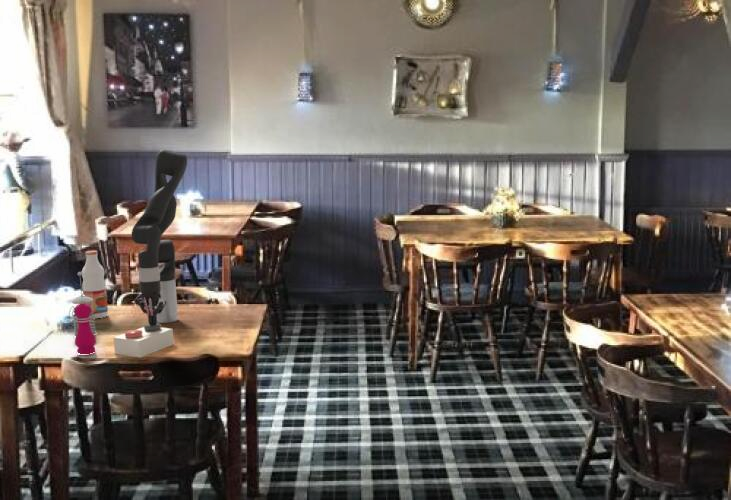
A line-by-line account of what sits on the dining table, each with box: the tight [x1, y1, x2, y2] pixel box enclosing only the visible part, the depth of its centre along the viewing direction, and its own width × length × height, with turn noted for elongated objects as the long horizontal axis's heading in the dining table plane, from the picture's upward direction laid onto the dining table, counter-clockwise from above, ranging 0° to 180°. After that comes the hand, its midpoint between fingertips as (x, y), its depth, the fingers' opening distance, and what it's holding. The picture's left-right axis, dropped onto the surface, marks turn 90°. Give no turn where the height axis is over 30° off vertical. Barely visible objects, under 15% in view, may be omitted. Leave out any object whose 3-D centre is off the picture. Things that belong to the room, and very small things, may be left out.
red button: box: [124, 329, 142, 338], centre depth 340 cm, size 6×6×5 cm
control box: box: [113, 326, 174, 358], centre depth 345 cm, size 12×18×6 cm, turn 151°
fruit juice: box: [81, 250, 109, 319], centre depth 393 cm, size 9×9×28 cm
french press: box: [68, 271, 98, 336], centre depth 365 cm, size 10×12×25 cm
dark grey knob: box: [143, 322, 162, 332], centre depth 349 cm, size 6×6×5 cm
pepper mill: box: [73, 300, 97, 354], centre depth 340 cm, size 7×7×20 cm
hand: (152, 324), depth 348 cm, fingers closed
